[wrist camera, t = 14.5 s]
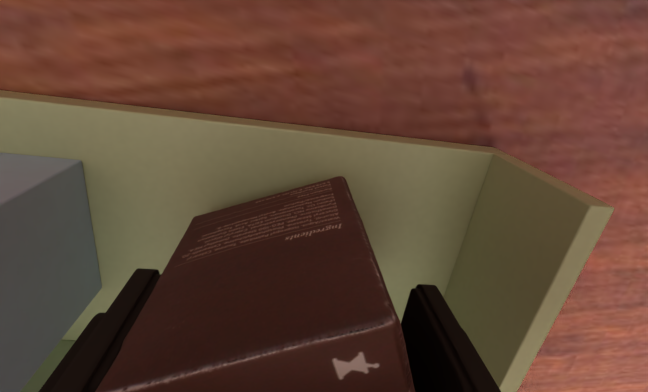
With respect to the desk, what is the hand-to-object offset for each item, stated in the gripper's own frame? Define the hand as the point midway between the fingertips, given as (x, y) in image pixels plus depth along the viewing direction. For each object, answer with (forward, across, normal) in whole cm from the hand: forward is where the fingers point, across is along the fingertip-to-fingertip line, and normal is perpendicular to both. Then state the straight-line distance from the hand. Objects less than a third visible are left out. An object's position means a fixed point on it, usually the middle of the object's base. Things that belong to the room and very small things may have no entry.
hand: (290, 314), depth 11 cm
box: (+4, 0, 0) cm, 4 cm away
